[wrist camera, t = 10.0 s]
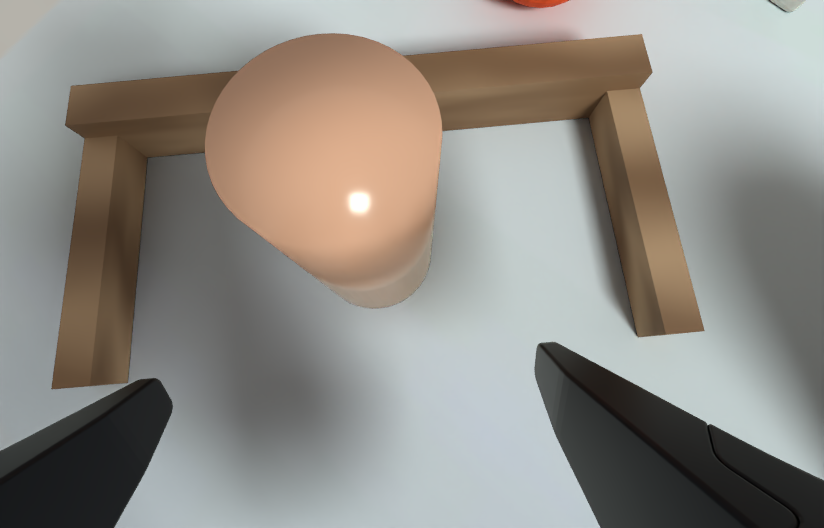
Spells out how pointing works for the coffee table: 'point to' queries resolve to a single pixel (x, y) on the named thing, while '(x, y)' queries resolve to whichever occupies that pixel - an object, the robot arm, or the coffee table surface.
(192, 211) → the coffee table surface
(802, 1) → the supplement box
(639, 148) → the bay
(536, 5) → the clementine
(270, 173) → the tan cylinder
